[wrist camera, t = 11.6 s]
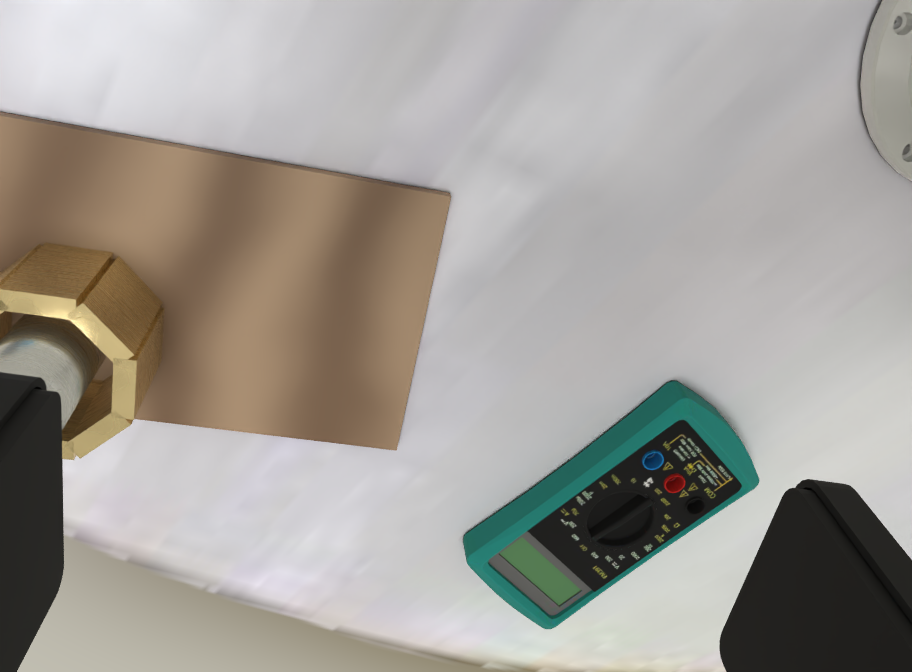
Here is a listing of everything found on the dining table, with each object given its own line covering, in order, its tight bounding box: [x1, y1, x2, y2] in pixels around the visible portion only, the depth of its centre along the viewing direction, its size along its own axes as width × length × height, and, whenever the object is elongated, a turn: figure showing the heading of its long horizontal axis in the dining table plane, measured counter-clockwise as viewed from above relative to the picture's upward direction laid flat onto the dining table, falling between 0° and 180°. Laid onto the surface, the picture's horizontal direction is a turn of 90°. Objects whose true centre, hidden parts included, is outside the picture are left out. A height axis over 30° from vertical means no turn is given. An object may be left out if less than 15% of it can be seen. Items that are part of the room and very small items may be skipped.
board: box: [0, 112, 451, 450], centre depth 36 cm, size 20×13×1 cm, turn 78°
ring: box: [0, 242, 165, 460], centre depth 34 cm, size 7×7×5 cm
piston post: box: [0, 314, 106, 429], centre depth 33 cm, size 4×4×7 cm
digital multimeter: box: [463, 381, 759, 629], centre depth 43 cm, size 7×15×3 cm, turn 130°
